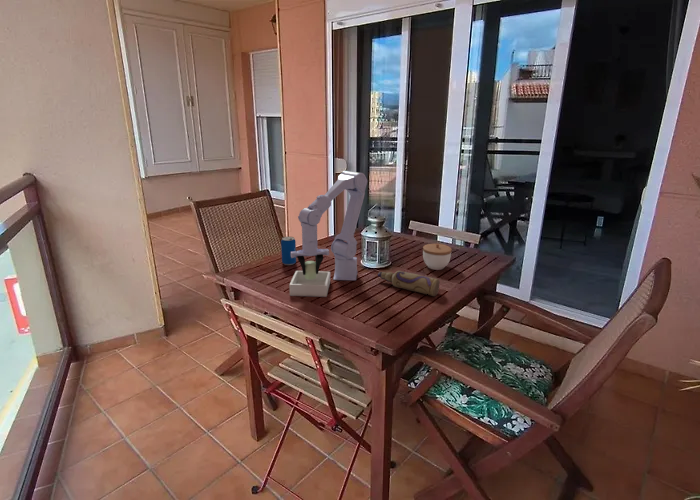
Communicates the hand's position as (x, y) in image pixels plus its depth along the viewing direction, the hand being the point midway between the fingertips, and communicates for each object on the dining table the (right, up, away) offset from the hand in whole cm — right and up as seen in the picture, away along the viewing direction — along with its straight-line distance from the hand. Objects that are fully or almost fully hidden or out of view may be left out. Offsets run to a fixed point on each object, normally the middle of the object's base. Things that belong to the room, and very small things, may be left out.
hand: (310, 273), depth 155 cm
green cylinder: (0, -1, +1) cm, 2 cm away
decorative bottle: (+39, -6, +5) cm, 40 cm away
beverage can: (-13, +3, +28) cm, 31 cm away
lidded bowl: (+54, +1, +26) cm, 60 cm away
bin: (0, -6, +2) cm, 6 cm away
